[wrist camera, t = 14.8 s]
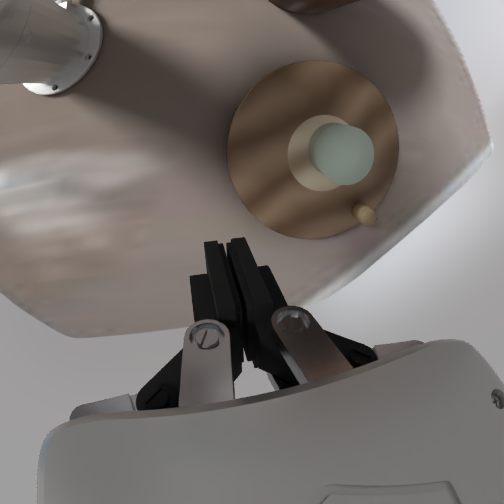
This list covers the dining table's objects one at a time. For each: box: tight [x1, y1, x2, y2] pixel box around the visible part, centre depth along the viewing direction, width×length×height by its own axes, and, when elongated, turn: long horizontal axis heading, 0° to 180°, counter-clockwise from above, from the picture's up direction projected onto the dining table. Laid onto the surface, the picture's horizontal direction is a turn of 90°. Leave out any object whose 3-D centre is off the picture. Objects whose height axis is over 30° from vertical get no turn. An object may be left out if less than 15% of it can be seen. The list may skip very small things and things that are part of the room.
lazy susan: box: [227, 60, 399, 239], centre depth 32 cm, size 24×24×4 cm
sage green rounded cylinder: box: [308, 122, 374, 185], centre depth 31 cm, size 7×7×4 cm
